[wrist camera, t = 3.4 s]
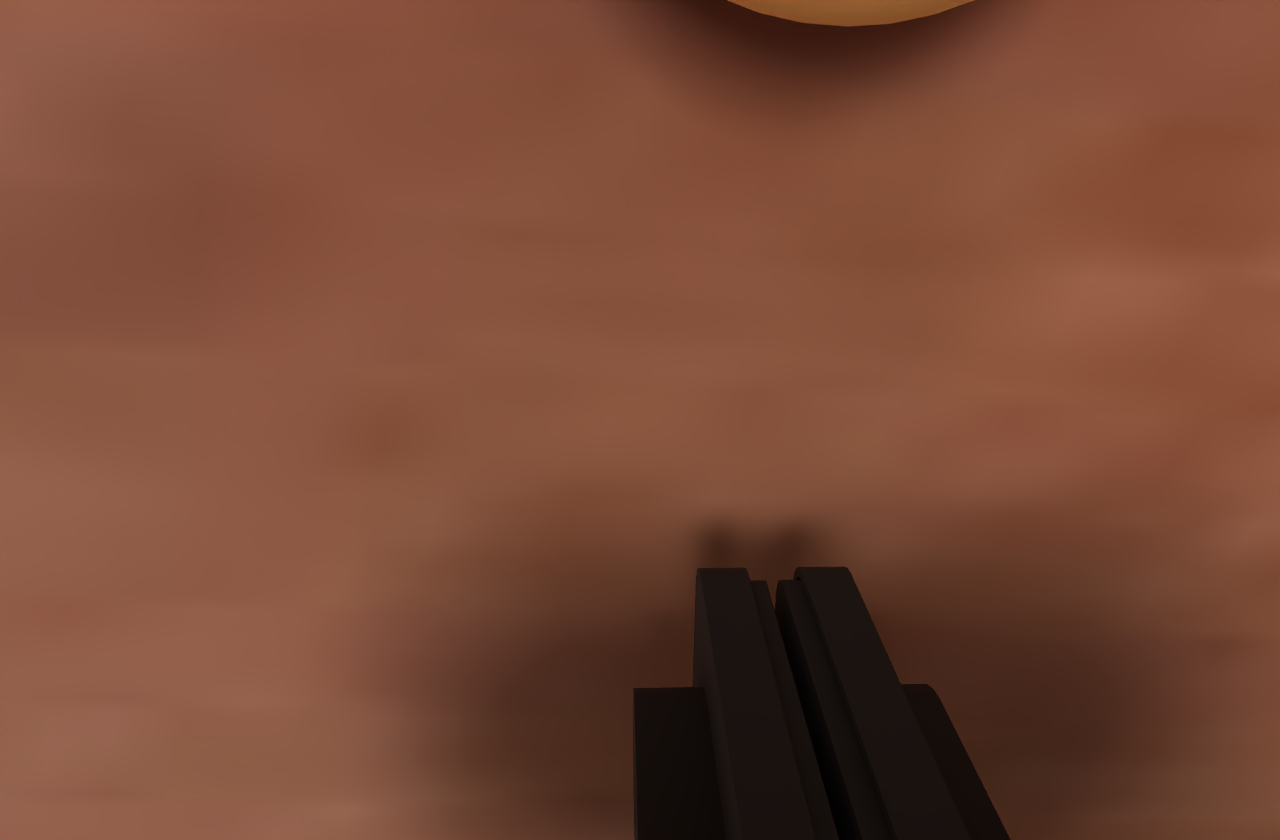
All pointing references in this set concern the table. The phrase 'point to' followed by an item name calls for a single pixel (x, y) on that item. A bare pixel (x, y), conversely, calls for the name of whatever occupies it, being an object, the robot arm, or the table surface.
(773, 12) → the ball
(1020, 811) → the table surface
